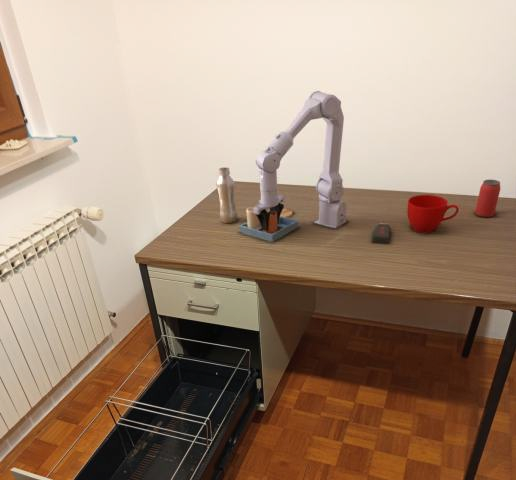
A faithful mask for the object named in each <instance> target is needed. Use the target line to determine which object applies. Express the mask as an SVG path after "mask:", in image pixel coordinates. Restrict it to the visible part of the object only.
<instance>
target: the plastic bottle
mask: <svg viewBox="0 0 516 480" xmlns="http://www.w3.org/2000/svg"><path fill="white" fill-rule="evenodd" d="M218 172H219V173H218V176H219V177H218V178H217V180H216V190H217V193H218V198H219V219H220V221H221V222H222V223H224V224H234V223H235V222H236V221H237V220H238V212H237V209H236V204H235V182H234V179H233V178H232V177H231V176H230V174H231V172H230V168H229V167H220V168H219V169H218Z"/></svg>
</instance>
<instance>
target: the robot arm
mask: <svg viewBox="0 0 516 480" xmlns="http://www.w3.org/2000/svg"><path fill="white" fill-rule="evenodd" d="M341 106H342V101H341V100H340V99H339V98H338V97H337V96H336V95H335V94H331V93H326V92H322V91H320V90H316V91H313V92H311V94H310V95H309V96H308V98H307V99H306V100H305V101H304V103H303V106H302V108H301V109H300V111H299V112H298V113H297V114H296V116H295V118H294V119H293V120H292V121H291V123H290V124H289V126H288V127H287V129H286V130H285V131H279V132H278V133H276V134H275V135H274V139H272V141H271V142H270V144H269V145H268V146H266V147H265V150H261V152H259V153H258V155H257V157H256V160H255V165H256V166H257V168H258V169H259V171H258V172H259V191H260V199H259V200H258V204H256V206H253V207H254V214H256V216H257V217H258V219H259V221H260V224H261V227H262V230H265V231H268V224H269V217H270V214H271V213H269V212H267V211H268V209H269V211H275V212H277V225H278V223H279V218H280V215H281V212H282V210H283V209H285V205H284V204H283V203H285V196H284V195H281V194H279V195H278V173H277V170H278V169H279V168H280V165H281V161H282V159H283V158H284V156H285V155H286V154H287V153H288V152H289V150H290V149H292V147H293V146H294V139H295V138H296V137H297V135H298V134H299V133H300V132H301V131H302V130H303V129H304V128H305V127H306V126H307V125H308V124H309V123H310V122H311V121H313V120H317V119H318V120H319V119H323V121H324V122H325V123H326V128H325V129H326V130H325V140H324V154H323V164H322V165H323V166H322V171H321V172H320V173H319V174H318V180H317V182H316V184H315V191H316V193H317V194H318V219H316V220H315V221H314V222H313V223H314V224H317V225H321V226H325V227H328V228H334V229H337V228H338V227H341V226H342V225H344V224H345V223H347V219H346V218H347V204H346V202H345V201H343V200H341V199H342V198H343V195H344V192H345V189H344V186H343V181H344V180H343V178H342V176H341V174H340V171H339V170H340V163H341V151H342V143H343V131H344V122H345V116H344V113H343V109H342V107H341Z"/></svg>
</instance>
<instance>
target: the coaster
mask: <svg viewBox="0 0 516 480" xmlns="http://www.w3.org/2000/svg"><path fill="white" fill-rule="evenodd" d="M293 214H294V213H293V211H292V210H291V209H288V208H283V210H282V212H281V215H280V216H282V217H286V218H289V217H290V216H292V215H293Z"/></svg>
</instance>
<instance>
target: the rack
mask: <svg viewBox="0 0 516 480" xmlns="http://www.w3.org/2000/svg"><path fill="white" fill-rule="evenodd" d="M297 228H299V220H297V219H294V218H289V217H282V216H280V218H279V223H278V231H277V232H275V233H273V234H270V233H266V232H263V230H262V227H260V228H258V229H252V228H249V227H247V221H245V222H244V223H241V224H240V225H238V229H239V233H240V234H241V233H242V234H245V235H249V236H251V237H255V238H258V239H261V240H265V241H268V242H275V241H277V240H278V239H280V238H282V237H284V236H285V235H287V234H289V233H290V232H292V231H294V230H296V229H297Z"/></svg>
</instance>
